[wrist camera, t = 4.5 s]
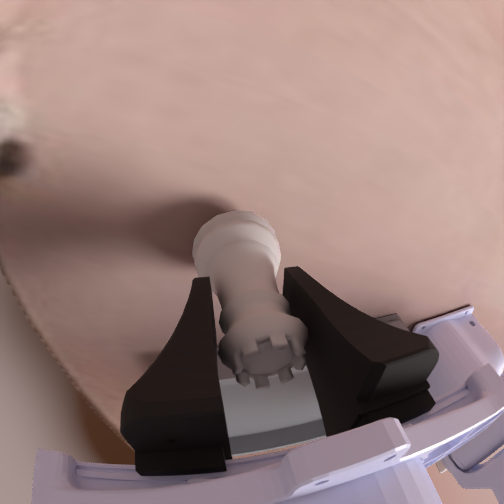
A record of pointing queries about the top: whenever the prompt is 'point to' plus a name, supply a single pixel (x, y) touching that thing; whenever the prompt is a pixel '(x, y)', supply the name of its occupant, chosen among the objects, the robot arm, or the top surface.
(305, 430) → the box
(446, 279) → the top surface
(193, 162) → the top surface
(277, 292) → the rook chess piece
